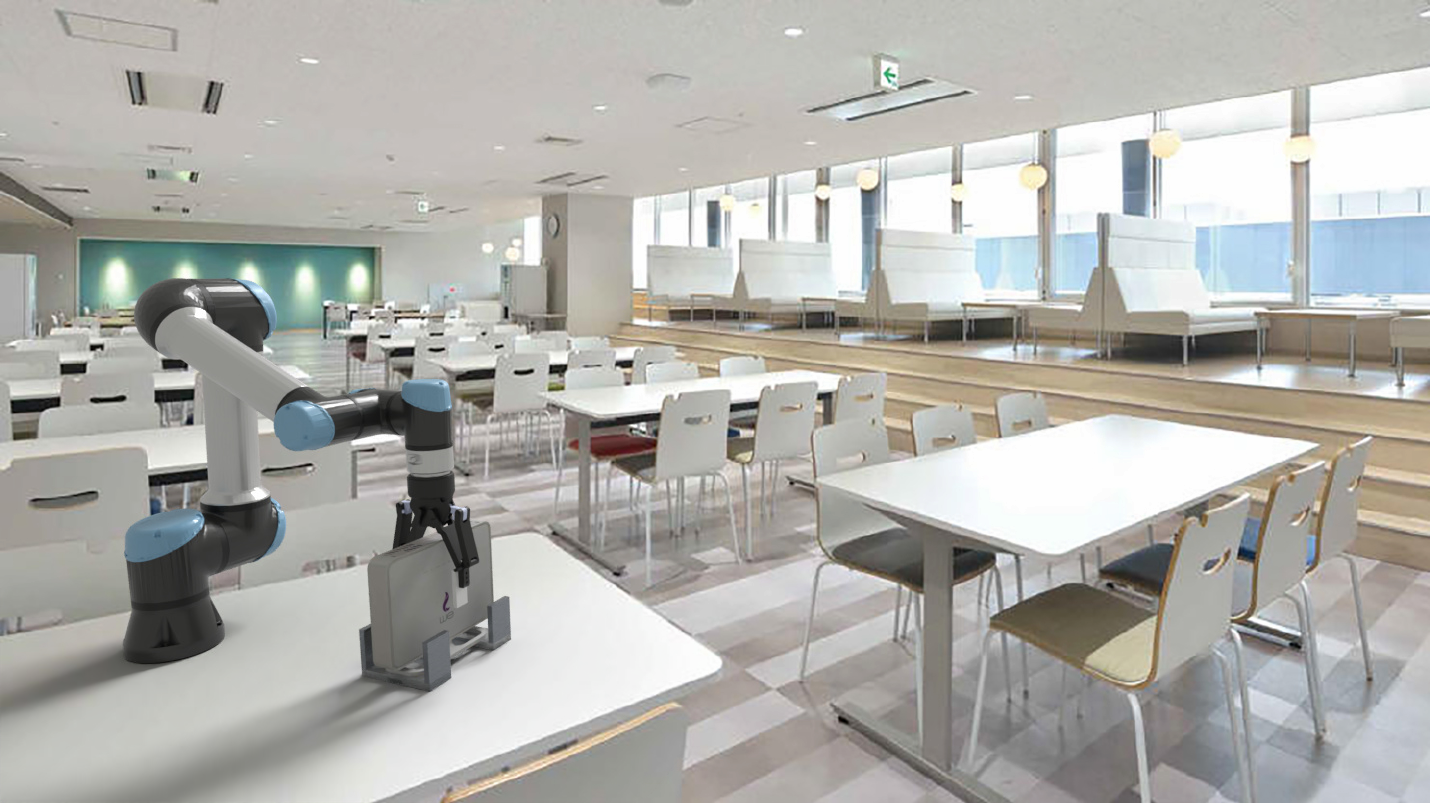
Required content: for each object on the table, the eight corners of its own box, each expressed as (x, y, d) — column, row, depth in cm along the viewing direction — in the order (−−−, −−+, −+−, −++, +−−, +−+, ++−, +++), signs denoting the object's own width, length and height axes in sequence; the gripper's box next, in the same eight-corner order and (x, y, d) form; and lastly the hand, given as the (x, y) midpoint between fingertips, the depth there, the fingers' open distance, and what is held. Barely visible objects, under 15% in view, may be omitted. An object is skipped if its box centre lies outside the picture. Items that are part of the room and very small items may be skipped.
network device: (403, 687, 128) (396, 564, 125) (361, 678, 131) (353, 557, 128) (504, 625, 151) (500, 520, 149) (466, 618, 155) (461, 515, 152)
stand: (362, 675, 135) (359, 629, 133) (448, 626, 154) (446, 586, 153) (429, 691, 129) (427, 643, 128) (511, 638, 149) (509, 596, 147)
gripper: (363, 471, 138) (371, 599, 141) (469, 482, 129) (475, 618, 133) (396, 462, 145) (403, 585, 148) (498, 472, 136) (503, 602, 139)
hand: (437, 600), depth 140 cm, fingers open, 9 cm apart
